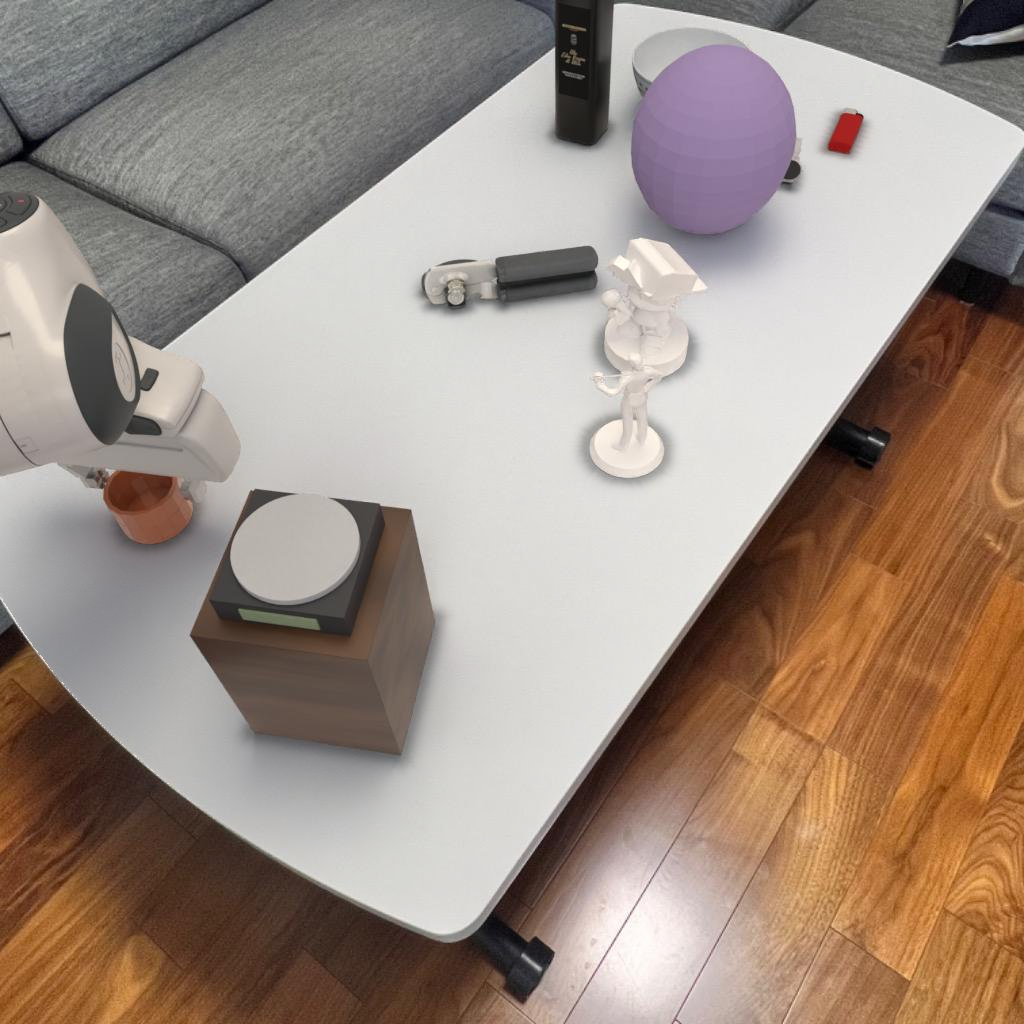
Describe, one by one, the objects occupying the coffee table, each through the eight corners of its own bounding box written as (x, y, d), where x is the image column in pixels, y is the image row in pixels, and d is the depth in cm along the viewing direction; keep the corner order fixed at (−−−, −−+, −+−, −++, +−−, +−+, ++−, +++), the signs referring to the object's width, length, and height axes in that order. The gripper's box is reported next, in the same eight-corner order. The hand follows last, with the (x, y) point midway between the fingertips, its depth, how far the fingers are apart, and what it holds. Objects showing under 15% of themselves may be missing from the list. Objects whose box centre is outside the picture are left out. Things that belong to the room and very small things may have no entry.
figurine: (642, 411, 92) (652, 319, 82) (677, 462, 88) (692, 372, 78) (576, 434, 90) (578, 343, 81) (609, 487, 86) (615, 399, 77)
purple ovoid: (681, 162, 116) (701, -5, 99) (803, 215, 109) (846, 44, 92) (595, 231, 108) (602, 63, 92) (721, 293, 101) (751, 122, 85)
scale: (350, 638, 60) (341, 615, 58) (218, 620, 61) (204, 596, 59) (385, 523, 65) (378, 498, 63) (263, 508, 66) (252, 482, 64)
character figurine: (589, 336, 98) (592, 242, 88) (666, 306, 100) (678, 212, 91) (631, 390, 93) (639, 297, 84) (711, 357, 96) (729, 263, 86)
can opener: (424, 317, 101) (418, 280, 97) (421, 278, 105) (416, 241, 101) (600, 300, 101) (602, 263, 97) (591, 262, 105) (593, 225, 101)
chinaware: (621, 88, 126) (624, 31, 120) (732, 81, 126) (741, 23, 120) (636, 153, 117) (641, 95, 111) (755, 145, 117) (767, 86, 111)
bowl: (177, 548, 84) (160, 519, 81) (110, 539, 85) (90, 510, 81) (203, 491, 88) (188, 461, 84) (139, 483, 89) (121, 453, 85)
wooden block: (401, 755, 72) (367, 660, 59) (253, 732, 74) (189, 635, 61) (435, 620, 79) (411, 509, 66) (299, 602, 80) (250, 489, 67)
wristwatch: (773, 188, 112) (781, 151, 108) (778, 164, 114) (786, 127, 110) (798, 192, 111) (807, 154, 107) (802, 167, 114) (811, 130, 110)
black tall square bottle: (592, 148, 118) (601, -121, 94) (552, 138, 120) (550, -130, 95) (611, 125, 121) (624, -143, 97) (571, 115, 123) (574, -150, 98)
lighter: (828, 140, 115) (843, 106, 119) (826, 149, 116) (841, 115, 120) (852, 145, 114) (866, 110, 118) (849, 154, 115) (863, 120, 119)
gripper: (-59, 398, 72) (25, 503, 83) (190, 426, 69) (241, 531, 81) (-18, 341, 76) (57, 449, 87) (219, 365, 73) (265, 474, 84)
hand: (147, 488), depth 84 cm, fingers open, 8 cm apart
